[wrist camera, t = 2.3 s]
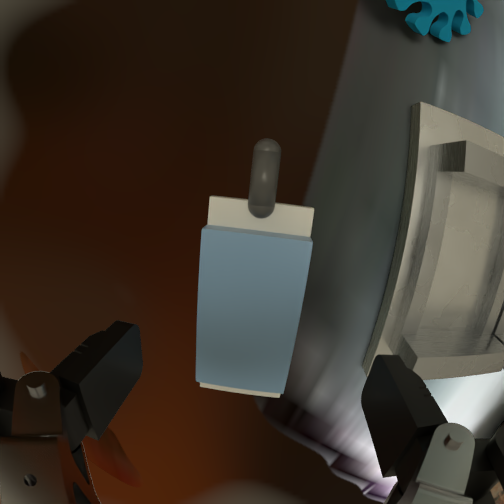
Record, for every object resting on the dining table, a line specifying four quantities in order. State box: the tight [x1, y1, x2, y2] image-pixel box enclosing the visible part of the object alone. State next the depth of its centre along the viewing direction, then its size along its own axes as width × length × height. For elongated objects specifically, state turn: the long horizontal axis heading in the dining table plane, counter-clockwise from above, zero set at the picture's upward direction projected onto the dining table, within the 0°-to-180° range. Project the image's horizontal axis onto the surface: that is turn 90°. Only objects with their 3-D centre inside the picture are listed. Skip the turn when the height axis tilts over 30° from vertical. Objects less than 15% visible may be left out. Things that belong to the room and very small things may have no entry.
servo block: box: [196, 139, 314, 398], centre depth 13 cm, size 12×4×5 cm, turn 174°
